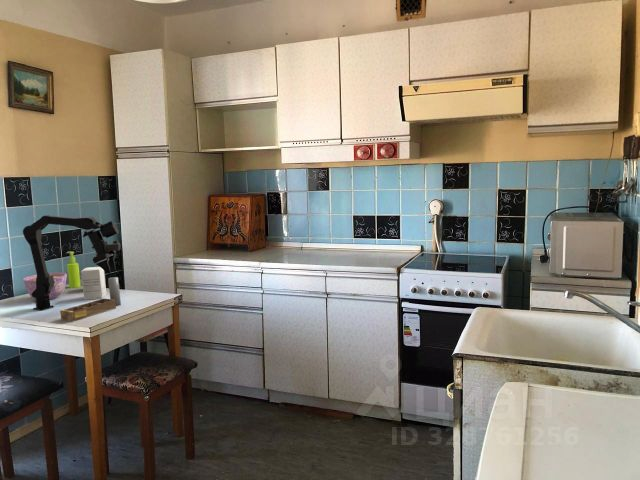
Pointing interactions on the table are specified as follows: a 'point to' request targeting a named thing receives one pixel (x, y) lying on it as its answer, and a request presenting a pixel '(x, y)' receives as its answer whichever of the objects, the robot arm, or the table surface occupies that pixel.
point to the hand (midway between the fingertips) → (112, 271)
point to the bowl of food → (56, 291)
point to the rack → (87, 309)
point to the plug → (114, 290)
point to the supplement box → (93, 283)
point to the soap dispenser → (73, 272)
